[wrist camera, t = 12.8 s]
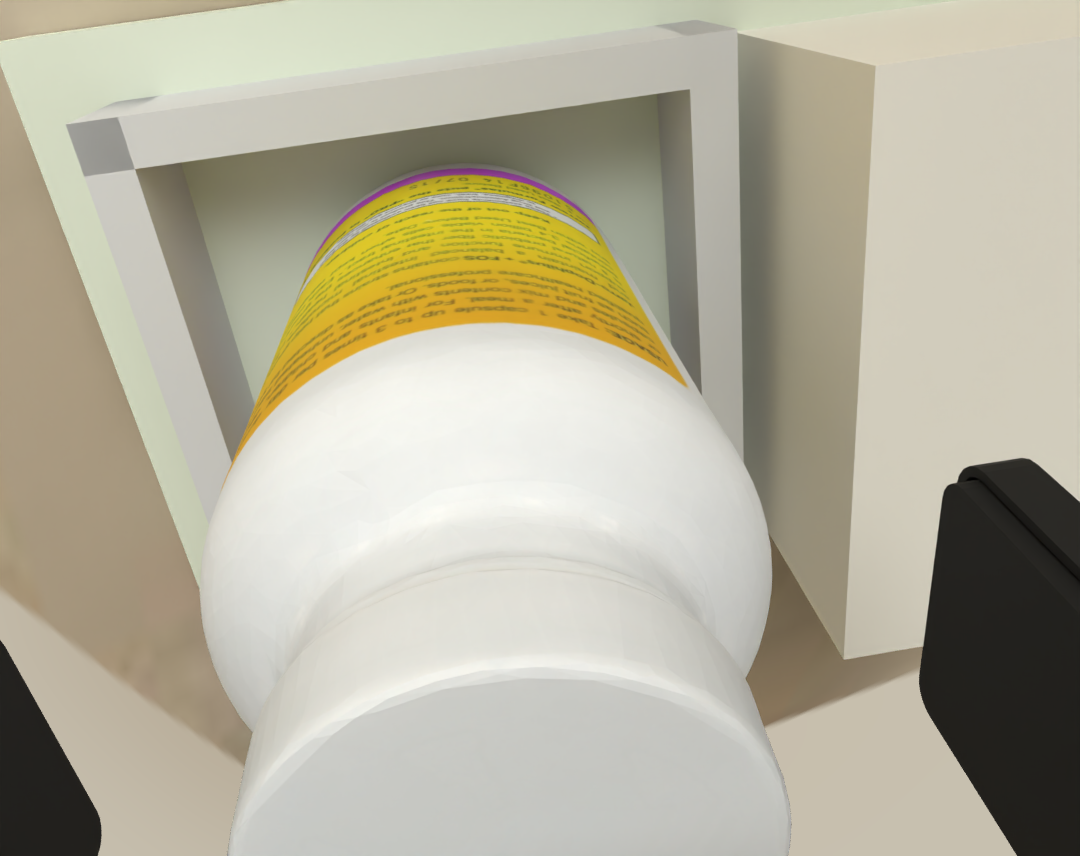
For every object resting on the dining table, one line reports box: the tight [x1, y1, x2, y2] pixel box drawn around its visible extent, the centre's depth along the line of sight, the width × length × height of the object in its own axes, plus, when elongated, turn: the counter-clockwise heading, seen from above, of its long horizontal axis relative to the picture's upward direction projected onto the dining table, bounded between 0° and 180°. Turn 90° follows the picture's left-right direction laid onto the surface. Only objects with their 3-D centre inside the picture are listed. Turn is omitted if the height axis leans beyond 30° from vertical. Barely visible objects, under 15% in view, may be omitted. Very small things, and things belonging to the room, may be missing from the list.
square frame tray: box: [0, 0, 1080, 660], centre depth 17 cm, size 22×13×8 cm, turn 97°
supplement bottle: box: [200, 163, 791, 856], centre depth 13 cm, size 7×7×13 cm
